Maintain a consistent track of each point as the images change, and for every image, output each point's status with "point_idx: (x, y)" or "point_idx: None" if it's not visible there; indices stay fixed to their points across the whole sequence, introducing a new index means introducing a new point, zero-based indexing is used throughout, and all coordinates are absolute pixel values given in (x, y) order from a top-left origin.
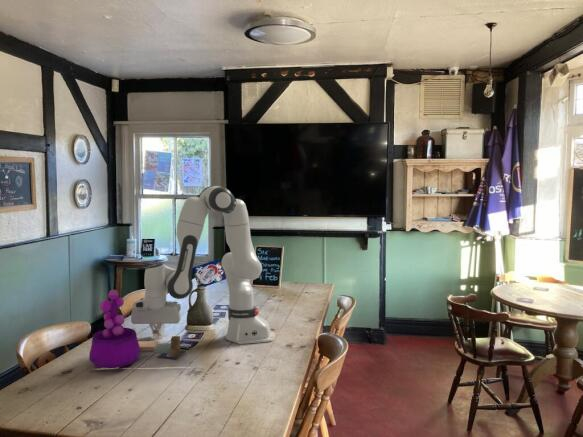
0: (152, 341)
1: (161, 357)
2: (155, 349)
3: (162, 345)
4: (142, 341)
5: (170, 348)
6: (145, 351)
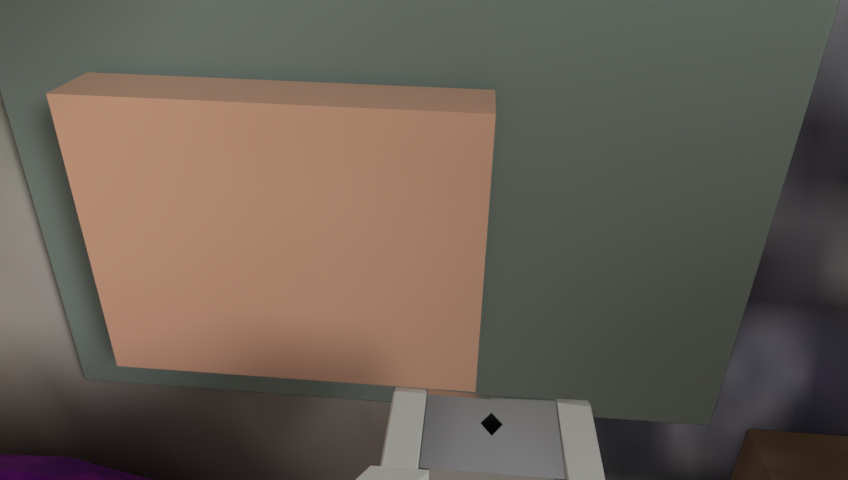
0: (376, 127)
1: None
2: None
3: (581, 99)
4: (161, 104)
5: (735, 260)
6: None
